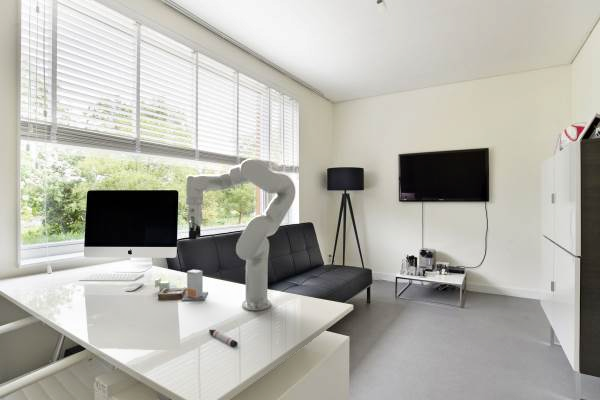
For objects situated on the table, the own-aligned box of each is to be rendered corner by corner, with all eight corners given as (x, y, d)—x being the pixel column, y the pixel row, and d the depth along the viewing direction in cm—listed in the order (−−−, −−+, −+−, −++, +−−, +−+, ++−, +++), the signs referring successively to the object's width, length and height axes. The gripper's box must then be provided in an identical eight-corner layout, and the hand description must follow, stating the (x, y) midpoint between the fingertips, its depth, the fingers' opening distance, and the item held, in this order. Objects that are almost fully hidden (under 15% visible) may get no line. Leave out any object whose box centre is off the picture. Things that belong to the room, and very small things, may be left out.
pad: (204, 300, 143) (204, 299, 143) (181, 301, 142) (181, 300, 142) (207, 293, 153) (207, 292, 153) (186, 294, 152) (186, 292, 152)
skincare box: (186, 296, 146) (186, 271, 146) (193, 293, 150) (193, 269, 150) (196, 298, 144) (196, 272, 143) (203, 295, 148) (202, 270, 147)
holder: (182, 298, 145) (182, 293, 145) (151, 299, 143) (151, 294, 143) (189, 288, 160) (189, 283, 160) (162, 289, 158) (162, 284, 158)
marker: (237, 346, 102) (237, 340, 102) (232, 348, 100) (232, 342, 100) (211, 332, 112) (211, 326, 112) (206, 333, 111) (206, 328, 111)
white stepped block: (166, 291, 153) (166, 279, 153) (155, 292, 152) (154, 280, 152) (169, 288, 159) (169, 276, 158) (158, 288, 158) (158, 276, 158)
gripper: (199, 202, 138) (199, 240, 138) (206, 200, 155) (206, 235, 155) (181, 202, 137) (182, 240, 137) (190, 200, 154) (190, 235, 154)
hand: (194, 237), depth 146 cm, fingers open, 9 cm apart
